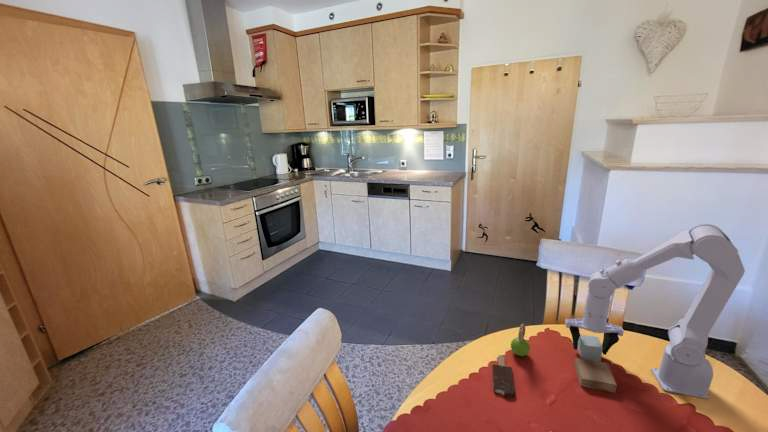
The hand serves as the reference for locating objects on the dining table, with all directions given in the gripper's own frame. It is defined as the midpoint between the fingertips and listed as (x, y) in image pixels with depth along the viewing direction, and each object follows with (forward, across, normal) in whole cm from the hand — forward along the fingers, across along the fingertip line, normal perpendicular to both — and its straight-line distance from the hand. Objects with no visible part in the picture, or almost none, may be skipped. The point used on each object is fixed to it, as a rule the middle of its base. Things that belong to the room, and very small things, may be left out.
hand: (589, 349), depth 98 cm
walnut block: (+2, +1, +10) cm, 10 cm away
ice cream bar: (+2, +25, +16) cm, 30 cm away
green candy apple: (+2, +20, +6) cm, 21 cm away
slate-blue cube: (+2, 0, 0) cm, 2 cm away
